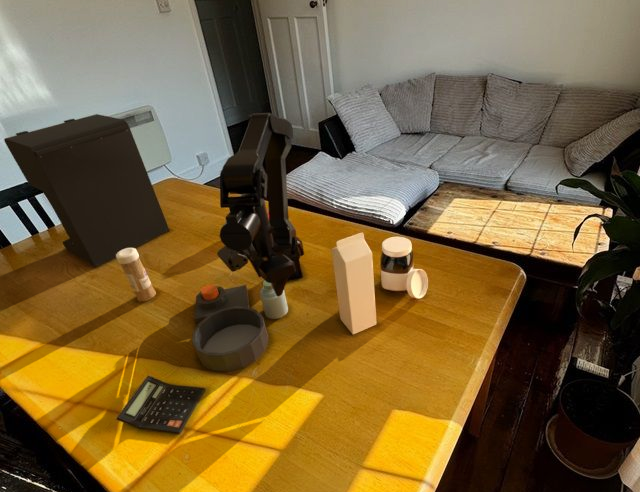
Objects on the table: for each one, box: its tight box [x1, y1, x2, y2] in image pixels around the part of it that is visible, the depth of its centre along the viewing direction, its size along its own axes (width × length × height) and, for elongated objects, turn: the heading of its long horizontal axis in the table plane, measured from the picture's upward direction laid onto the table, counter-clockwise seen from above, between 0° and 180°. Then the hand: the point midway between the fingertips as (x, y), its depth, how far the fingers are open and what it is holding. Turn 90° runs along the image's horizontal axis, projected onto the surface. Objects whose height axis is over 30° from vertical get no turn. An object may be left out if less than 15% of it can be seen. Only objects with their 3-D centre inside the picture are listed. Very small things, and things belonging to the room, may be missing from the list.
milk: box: [331, 232, 377, 336], centre depth 85 cm, size 6×6×22 cm
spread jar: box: [379, 236, 429, 299], centre depth 97 cm, size 12×11×12 cm
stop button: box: [200, 284, 219, 300], centre depth 96 cm, size 4×4×2 cm
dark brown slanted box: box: [3, 113, 171, 269], centre depth 121 cm, size 28×20×35 cm
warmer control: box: [194, 284, 251, 326], centre depth 97 cm, size 12×9×4 cm
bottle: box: [259, 280, 289, 320], centre depth 94 cm, size 5×5×9 cm
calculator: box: [115, 374, 206, 435], centre depth 75 cm, size 9×12×3 cm
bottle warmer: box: [191, 306, 269, 373], centre depth 86 cm, size 14×14×5 cm
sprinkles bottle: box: [115, 248, 157, 302], centre depth 101 cm, size 5×5×14 cm
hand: (269, 285), depth 91 cm, fingers open, 9 cm apart
